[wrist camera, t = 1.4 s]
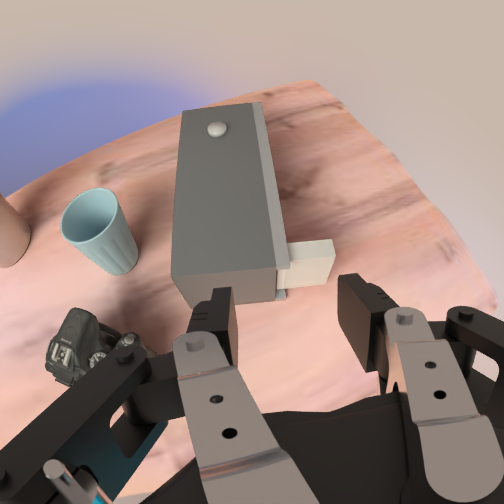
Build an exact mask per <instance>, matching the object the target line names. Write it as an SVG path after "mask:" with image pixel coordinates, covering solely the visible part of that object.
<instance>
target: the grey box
mask: <svg viewBox="0 0 504 504" xmlns="http://www.w3.org/2000/svg"><path fill="white" fill-rule="evenodd" d="M284 269H290V260H289V254H288V248H287V241H286V235H285V229H284V223H283V217H282V211H281V206H280V200H279V194H278V189H277V183H276V177H275V172H274V166H273V161H272V156H271V150H270V145H269V140H268V134H267V129H266V124H265V119H264V114H263V109H262V104H261V102H257V103H245V104H235V105H225V106H216V107H208V108H201V109H194V110H187V111H183V113H182V122H181V131H180V140H179V150H178V161H177V172H176V185H175V199H174V214H173V232H172V255H171V278H172V280H173V281H174V283H175V284H176V286H177V288H178V289H179V291H180V292H181V294H182V295H183V297H184V299H185V300H186V302H187V303H188V305H189V306H190V308H194V307H195V306H196V305H197V304H198V303H200V302H201V301H209V300H211V296H212V292H213V288H220V287H231V286H232V289H233V296H234V304H235V305H239V304H250V303H260V302H270V301H279V300H286V293H285V289H278V290H277V289H276V270H284Z"/></svg>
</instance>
